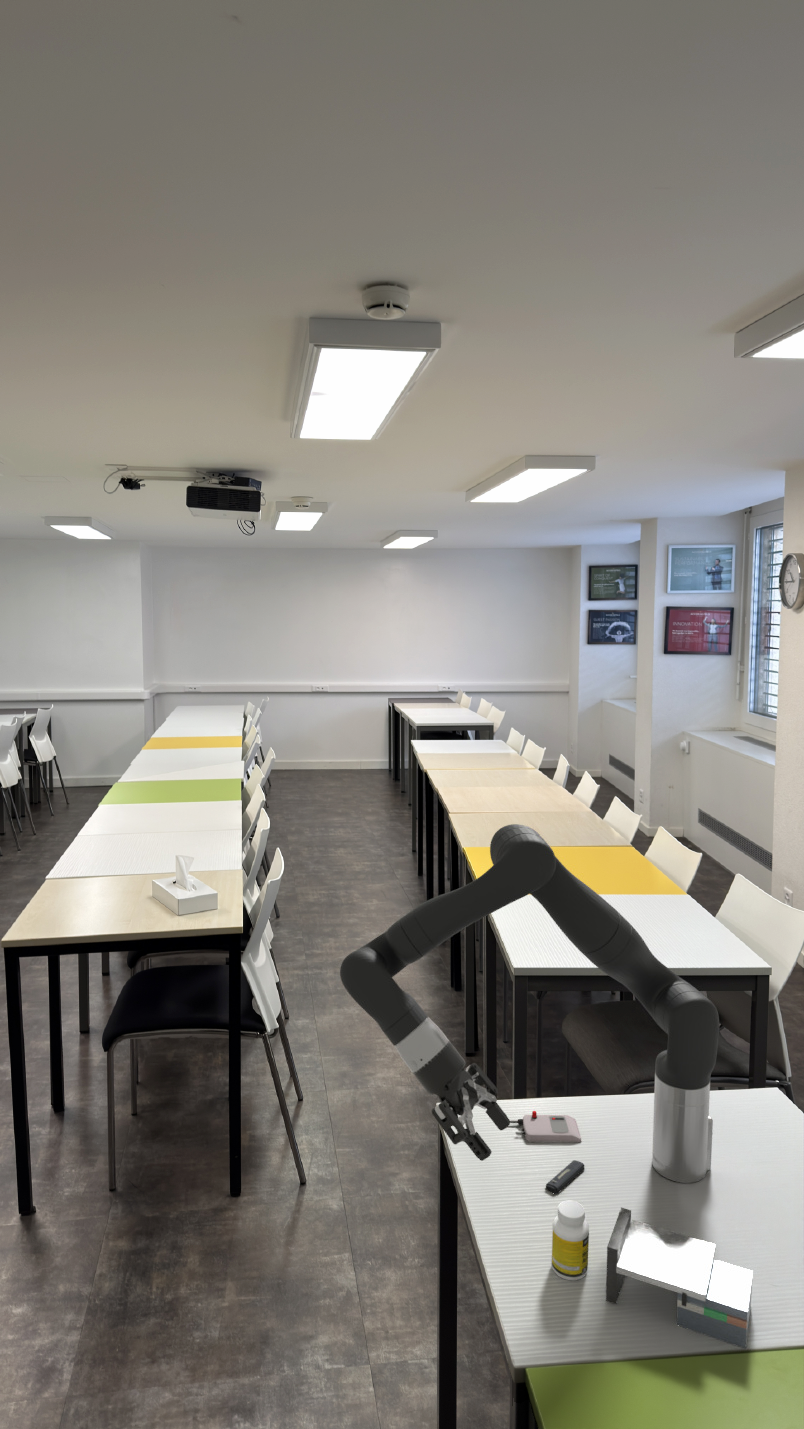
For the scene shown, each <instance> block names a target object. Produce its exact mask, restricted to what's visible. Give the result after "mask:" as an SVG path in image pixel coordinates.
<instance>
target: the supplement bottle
mask: <svg viewBox="0 0 804 1429" xmlns="http://www.w3.org/2000/svg"><path fill="white" fill-rule="evenodd" d="M585 1210H586V1209H585V1207H584V1206H583V1205H582V1204H581V1203H580V1202H578V1201H576V1200H571V1199H570V1200H569V1199H567V1200H563V1201H561V1202H560V1203H559V1204H558V1206H557V1215H556V1216H555V1218H554V1219H553V1222H552V1231H551V1232H552V1236H551V1268H552V1271H553V1272H554V1273H555V1274H556V1275H557V1276H558V1277H560V1278H562V1279H564V1280H568V1281H579V1280H580V1279H583V1278H584V1277H585V1276H586V1275H587V1273H588V1269H589V1241H590V1240H589V1239H590V1229H589V1228H590V1227H589V1223H588V1222H587V1220H586V1216H585V1215H586V1211H585Z"/></svg>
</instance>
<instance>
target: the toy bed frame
mask: <svg viewBox="0 0 804 1429" xmlns="http://www.w3.org/2000/svg"><path fill="white" fill-rule="evenodd" d="M715 1253H716V1244H715V1243H712V1242H708V1241H705V1240H702V1239H698V1238H695V1237H691V1236H688V1235H686V1234H682V1233H677V1232H675V1231H671V1230H668V1229H665V1228H661V1227H657V1226H655V1225H651V1224H648V1223H644V1222H642V1221H638V1220H635V1219H632V1209H628V1208H625V1207H620V1210H619V1212H618V1215H617V1218H616V1221H615V1224H614V1227H613V1229H612V1233H611V1236H610V1237H609V1241H608V1244H607V1246H606V1284H605V1301H606V1302H609V1303H612V1304H615V1305H617V1304H618V1302H619V1301H618V1300H619V1298H620V1294H621V1291H622V1287H623V1284H624V1281H625V1278H626V1277H629V1278H632V1279H635V1280H638V1281H641V1282H644V1283H647V1284H650V1285H654V1286H656V1287H659V1288H662V1289H664V1290H665V1289H666V1290H669V1291H672V1292H675V1293H677V1294H678V1293H681V1294H682V1305H683V1306H686V1305H687V1296H690V1297H693V1298H696V1299H699V1300H702V1301H706V1296H707V1290H708V1285H709V1280H710V1274H711V1269H712V1264H713V1259H714V1257H715Z"/></svg>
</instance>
